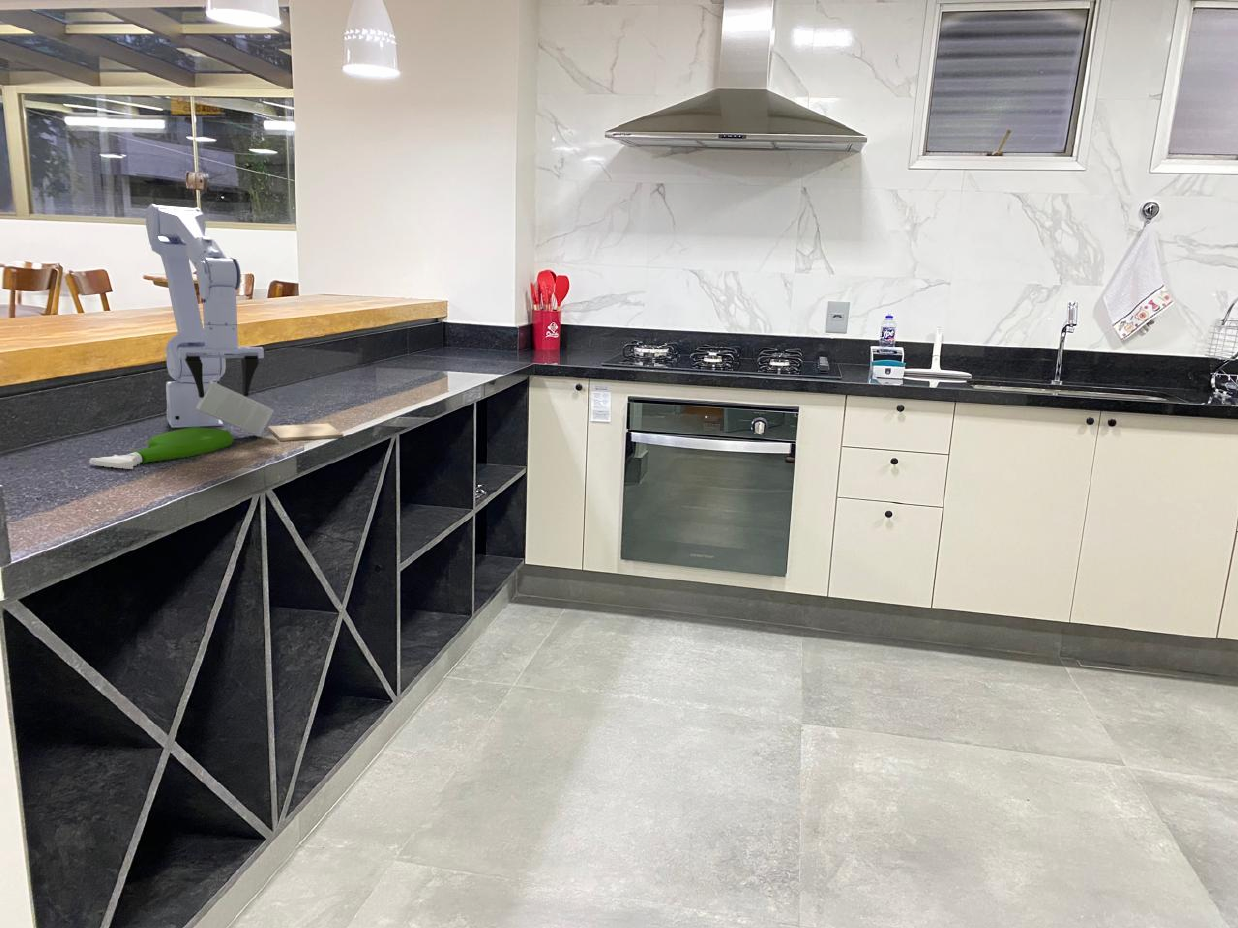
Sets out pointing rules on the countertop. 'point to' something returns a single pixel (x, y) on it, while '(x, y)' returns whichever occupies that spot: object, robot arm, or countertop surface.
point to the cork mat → (304, 432)
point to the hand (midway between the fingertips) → (223, 396)
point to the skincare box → (234, 409)
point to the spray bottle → (171, 447)
